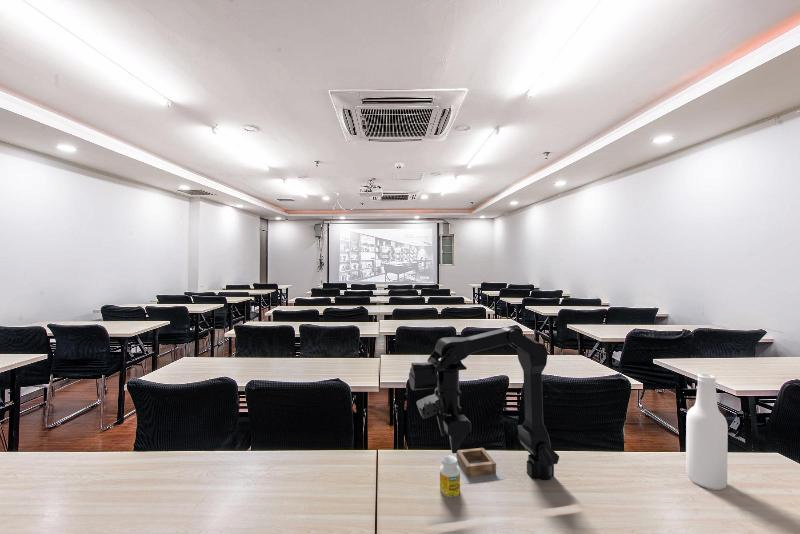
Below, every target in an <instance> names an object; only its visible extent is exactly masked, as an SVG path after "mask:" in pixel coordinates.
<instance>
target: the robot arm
mask: <svg viewBox="0 0 800 534" xmlns="http://www.w3.org/2000/svg"><path fill="white" fill-rule="evenodd" d="M504 345H505V346H506V345H509V346H511V347H512V348H513V349H515V350H516V354H517V359H518V361H519V364H520V367H521V369H522V372H523V394H524V395H523V396H524V397H523V398H524V399H523V401H524V421H523V423H522V424H518V425H517V431H518V434H517V436H516V437H517V439H518V440H519V442H520V444H521V446H523V447H524V449H525V451H526V452H527V453H528V456H527V458H528V460H526V474H527V475H528V477H530V479H532V480H533V479H534V480H539V481H549V480H552V478H554V477H555V465H557V464H558V462H559V461H560V456H559V455H558V454H557V452H555V451H554V449H553V448H552V446H551V441H550V435H549V433H548V431H547V428H546V425H545V424H544V411H543V410H544V407H543V404H544V403H543V378H542V377H543V376H542V375H543V371H544V369H545V367H546V366H547V363H548V356H549V355H548V353H549V352H548V347H546V346H545V345H544V344H543V343H541V342H538V341H536V340H533V339H530V338H529V337H527V336H525V335H523V334H522V333H521V332H519V331H518V330H517V329H515V328H512V327H509V326H504V327H502V328H499V329H495V330H490V331H487V332H482V333H478V334H473V335H469V336H466V337H465V336H464V337H463V336H462V337H460V336H459V337H458V336H450V337H442V338H439V339H438V340H437V342H436V343H435V346H434V350H433V351H432V353H431V354H430V356H428V358H427V361H426V362H411V363H410V364H411V367H410V369H409V372H408V381H409V387H410V389H411V391H416V390H419V391H420V390H428V389H434V388H435V389H434V393H433V394H430V395H427V396H425V397H423V398H420V399H418V400H417V401H416V402H415V403H416V406H417V409H418V411H419V412H418V413H419V414H420V416H421V417H422V419H424V420H425V419H428V418H430V417H432V416H434V415H435V416H436V419H437V423H438V427H439V430H440V431H439V432H440V435H441V437H445V436H446V435H448V438H449V444H450V451H451V453H452V454H453V455H454V454H456V453H457V451H458V450H460V448H461V445H462V442H463V441H464V439H465V438H466V436H467V434H469V433H471V432H472V430H473V429H472V424H473V423H471V421H470V420H469V419H468V418H467V417H466V416H465V414H458V413H461V412H462V411H463V409H462V407H461V406H460V397H462V395H463V394H462V391H461V390H460V371H465V370H467V369H468V367H466V365H464V364H463V362H462V361H464V360H465V359H466V358H468V357H469V356H470V355H472V354H474V353H478V352H482V351H485V350H486V351H487V350H489V349H494V348H497V347H501V346H504ZM439 359H440V360H439Z"/></svg>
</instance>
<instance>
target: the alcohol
mask: <svg viewBox="0 0 800 534" xmlns="http://www.w3.org/2000/svg"><path fill="white" fill-rule="evenodd" d="M696 376H697V388H696V394H695V395H696V397H695V403H694V405H693V406H692V407H690V408H689V409H688V410H687V413H686V421H685V422H686V423H685V425H686V428H685V430H686V432H685V433H686V434H685V435H686V436H685V473H686V476H687V478H688V479H689V480H690V481H691V482H692V483H694V484H696V485H698V486H700V487H702V488H706V489H708V490H713V491H723V490H724V489H725V488H726V487H727V486H728V448H729V447H728V445H729V444H728V443H729V442H728V441H729V440H728V433H729V431H728V429H729V428H728V427H729V425H728V421H727V418H726V417H725V416H724V415H723V413H722V412H721V411H720V409H719V407H718V398H717V397H718V396H717V386H716V384H717V381H716V379H717V378H716V377H715V375H711V374H708V373H698V374H697V375H696Z"/></svg>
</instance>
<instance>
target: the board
mask: <svg viewBox="0 0 800 534" xmlns="http://www.w3.org/2000/svg"><path fill="white" fill-rule="evenodd" d="M453 456H454V457H456V454H455V455H453ZM468 463H469V464H473V463H482V460H475V461H468ZM457 466H458V467H459V469H460V479H461V480H462V481H463V483H464V485H465V484H466V485H467V484H474V483H475V484H476V483H482V482H489V481H498V480H505V479H506V478H505V476H504V475H503V474H502V473H501V471H500V470H499V469H498V468H497V466H496V474H490V475H482V476H474V477H466V475H465V473H464V472H463V470H462V469H461V467H460V465H459V464H458V462H457Z"/></svg>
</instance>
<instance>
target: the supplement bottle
mask: <svg viewBox="0 0 800 534" xmlns="http://www.w3.org/2000/svg"><path fill="white" fill-rule="evenodd" d="M454 456H455V455H445V456H442V460H441V465H440V467H439V491H440V493H441V495H442V496H445V497H447V498H455V497H457V496H460V493H461V476H460V469H459V467H458V466H457V458H456V457H454Z"/></svg>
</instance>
